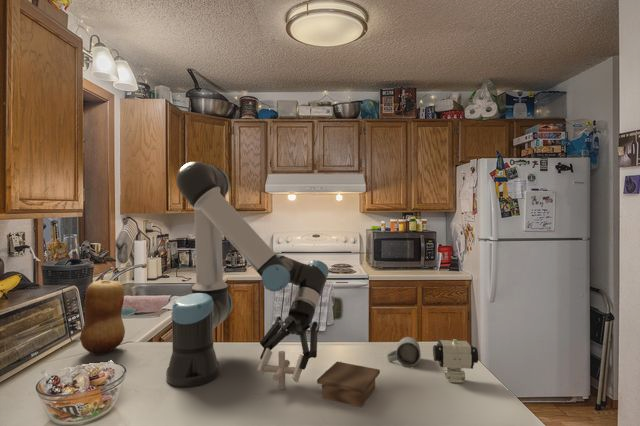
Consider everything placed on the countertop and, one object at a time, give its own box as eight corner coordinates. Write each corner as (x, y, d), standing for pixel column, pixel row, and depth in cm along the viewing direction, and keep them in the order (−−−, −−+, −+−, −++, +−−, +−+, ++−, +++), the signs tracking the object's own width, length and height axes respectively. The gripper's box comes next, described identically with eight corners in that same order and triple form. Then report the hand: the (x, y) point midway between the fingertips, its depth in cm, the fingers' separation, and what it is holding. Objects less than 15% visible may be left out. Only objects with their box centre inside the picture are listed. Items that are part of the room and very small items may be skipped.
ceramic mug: (419, 357, 126) (419, 334, 126) (420, 367, 118) (420, 343, 118) (387, 355, 128) (387, 333, 128) (386, 365, 120) (386, 341, 120)
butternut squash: (123, 356, 127) (122, 283, 127) (76, 363, 122) (75, 286, 122) (126, 343, 140) (126, 276, 140) (84, 348, 135) (84, 279, 135)
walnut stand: (317, 398, 99) (317, 379, 99) (336, 378, 111) (336, 361, 111) (364, 409, 93) (364, 389, 93) (379, 387, 105) (379, 369, 105)
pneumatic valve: (432, 376, 112) (432, 335, 112) (473, 378, 110) (473, 337, 110) (436, 384, 106) (436, 342, 106) (479, 387, 105) (479, 344, 105)
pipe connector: (294, 398, 99) (294, 360, 99) (258, 394, 101) (258, 357, 101) (303, 381, 109) (303, 346, 109) (270, 378, 111) (270, 344, 111)
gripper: (341, 316, 114) (319, 390, 100) (277, 307, 124) (248, 373, 110) (334, 302, 109) (309, 378, 95) (268, 295, 119) (237, 362, 105)
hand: (277, 376), depth 103 cm, fingers open, 10 cm apart
